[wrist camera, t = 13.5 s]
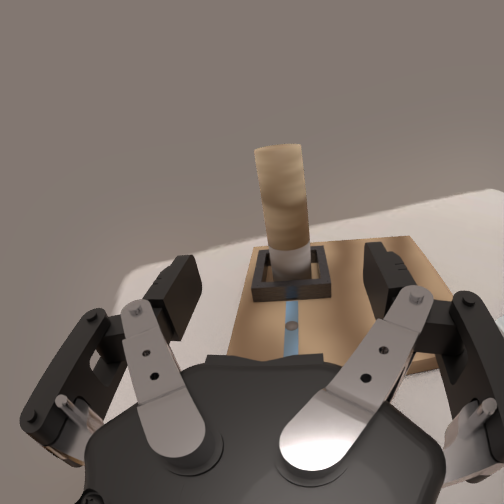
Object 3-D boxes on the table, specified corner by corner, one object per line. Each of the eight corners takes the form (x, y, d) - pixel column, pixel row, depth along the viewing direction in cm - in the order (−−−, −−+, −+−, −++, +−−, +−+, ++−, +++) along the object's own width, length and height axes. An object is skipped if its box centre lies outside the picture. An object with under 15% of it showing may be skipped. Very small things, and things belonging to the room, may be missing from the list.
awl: (310, 266, 27) (299, 142, 21) (312, 288, 24) (301, 148, 18) (274, 269, 28) (256, 147, 22) (272, 291, 24) (251, 153, 19)
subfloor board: (408, 246, 30) (409, 234, 29) (475, 358, 14) (483, 343, 14) (255, 258, 33) (253, 245, 33) (226, 386, 18) (221, 372, 17)
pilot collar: (323, 258, 28) (323, 245, 27) (331, 297, 22) (331, 283, 22) (260, 262, 29) (258, 250, 29) (253, 302, 23) (250, 288, 23)
